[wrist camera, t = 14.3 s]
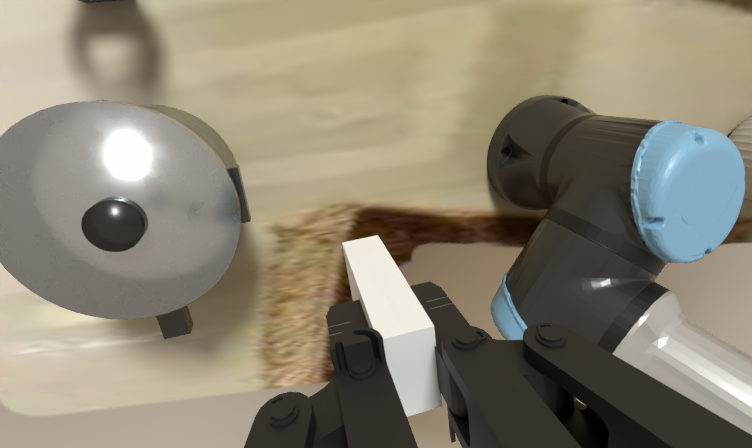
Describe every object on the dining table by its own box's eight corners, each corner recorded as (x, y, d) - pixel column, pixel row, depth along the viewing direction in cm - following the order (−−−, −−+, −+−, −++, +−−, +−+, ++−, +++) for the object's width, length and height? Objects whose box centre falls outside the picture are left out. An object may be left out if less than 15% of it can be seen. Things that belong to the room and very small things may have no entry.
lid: (213, 88, 30) (207, 88, 27) (260, 286, 37) (259, 303, 34) (-60, 116, 27) (-98, 120, 24) (47, 329, 33) (27, 352, 31)
